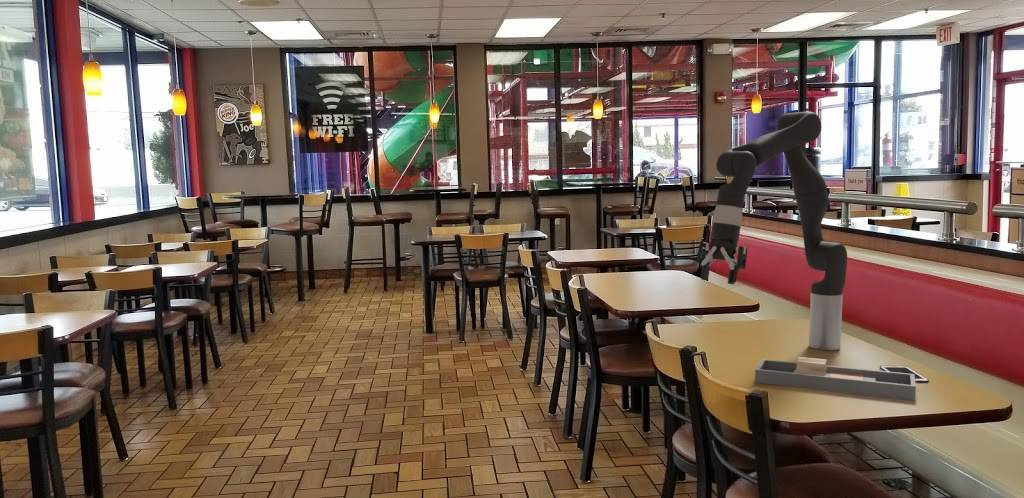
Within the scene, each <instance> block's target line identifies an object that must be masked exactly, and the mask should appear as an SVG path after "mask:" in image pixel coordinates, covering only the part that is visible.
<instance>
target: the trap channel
mask: <svg viewBox="0 0 1024 498" xmlns="http://www.w3.org/2000/svg"><path fill="white" fill-rule="evenodd" d="M796 369H797V361H796V362H795V361H788V360H787V361H785V360H775V359H765V358H761V359H760V362H759V363H758V365H757V366H756V367H755V371H754V373H755V374H754V383H756V384H764V383H765V384H766V385H773V384H775V385H774V386H782V385H785V386H786V387H791V386H792V387H793V388H801V389H802V388H803V389H808V390H809V389H810V390H819V391H820V390H821V391H829V392H835V393H836V392H838V393H846V394H852V395H853V394H855V395H863V396H864V395H865V396H872V397H881V398H891V399H899V400H900V399H901V400H908V401H916V389H917V386H916V382H915V375H914V374H908V373H898V372H888V371H883V370H877V369H869V368H868V369H866V368H857V367H849V366H848V367H846V366H838V365H837V366H835V365H827V364H826V376H820V375H811V374H801V373H796ZM765 384H764V385H765ZM785 386H784V387H785ZM792 387H791V388H792Z"/></svg>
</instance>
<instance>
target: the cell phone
mask: <svg viewBox="0 0 1024 498" xmlns="http://www.w3.org/2000/svg"><path fill="white" fill-rule="evenodd" d="M879 370H880V371H888V372H898V373H908V374H914V375H915V383H917V384H920V383H922V384H923V383H924V384H928V383H927V382H929V383H930V380H929V379H928V378H926V376H923V375H922V374H920V373H919V372H917V371H915V370H914V369H912V368H910V367H909V366H907V365H880V366H879Z"/></svg>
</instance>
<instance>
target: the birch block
mask: <svg viewBox="0 0 1024 498" xmlns="http://www.w3.org/2000/svg"><path fill="white" fill-rule="evenodd" d="M827 360H828V359H827V358H826V359H824V358H815V357H805V356H798V357H797V360H796V362H797V369H796V373H801V374H811V375H820V376H826V365H827Z"/></svg>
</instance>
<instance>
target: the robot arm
mask: <svg viewBox="0 0 1024 498" xmlns="http://www.w3.org/2000/svg"><path fill="white" fill-rule="evenodd" d="M821 132H822V120H821V118H820V117H819V115H818V114H817V113H816V112H813V111H798V112H789V113H788V112H787V113H784V114H783V113H782V115H780V117H779V118H778V121H777V129H776V131H772V132H769V133H766V134H763V135H761V136H759V137H757V138H754V139H753V140H751V141H749V142H747V143H746V144H743V145H739V146H736V147H735V146H734V147H733V148H729V149H726V150H725V151H723V152H722V153H721V154H719V156H718V158H717V160H716V164H715V165H716V166H715V168H716V170H717V172H718V173H719V174H720V175H721V176H724V177H729V178H732V180H731V182H729V183H725V184H722V185H721V186H719V189H718V193H717V197H716V198H717V199H716V206H715V209H714V212H713V216H712V217H713V218H712V222H711V223H712V224H711V229H710V241H709V243H708V242H705V241H700V242H699V246H698V249H697V250H698V251H697V254H696V255H697V256H696V260H695V262H696V263H697V264H700V265H701V270H700V278H701V280H702V281H708V280H709V276H710V270H711V267H710V266H711V265H712V264H713V263H714V262H715V261H725V262H726V263H727V265H728V266H729V272H728V278H727V284H728V285H735V283H736V282H737V278H738V273H739V271H740V270H745V269H746V267H747V258H748V247H746V246H743V245H740V246H738V242H739V239H740V235H741V227H742V220H743V208H744V202H745V197H746V196H745V195H746V193H747V191H748V188H749V186H750V184H751V181H752V180H753V177H754V175H755V172H756V169H757V167H759V166H761V165H762V164H765V163H766V162H768V161H770V160H772V159H773V158H775V157H777V156H778V155H780V154H782V153H783V154H784V157H785V160H786V163H787V166H788V167H787V168H788V170H789V171H788V172H789V175H790V179H791V183H792V189H793V193H794V198H795V203H796V206H797V210H798V214H799V219H800V223H801V224H800V225H801V229H802V230H801V231H802V237H803V246H804V255H805V260H806V263H807V265H808V266H809V268H811V269H812V270H814V271H815V270H816V271H820V272H824V275H823V276H824V277H823V279H821V280H819V281H814V282H812V283H811V285H810V303H809V305H810V307H809V332H808V347H810V348H811V349H815V350H821V351H836V350H840V349H841V345H842V343H841V342H842V341H841V338H842V319H843V318H842V317H843V316H842V315H843V314H842V313H843V291H844V287H845V284H846V280H847V279H846V277H847V267H848V252H847V251H848V250H847V249H846V246H845V245H844V244H842V243H840V242H835V241H825V240H824V238H823V234H822V233H823V232H822V222H823V219H824V217H825V215H826V212H827V210H828V208H829V204H830V202H829V201H830V200H829V199H830V198H829V193H828V189H827V184H826V181H825V178H824V177H823V176H822V174H821V173H820V172H819V171H818V169H817V168H816V167H815V166H814V165H813V164H812V163H811V161H810V160H809V159H808V157H807V156H806V155H805V153H804V149H803V147H802V146H803V145H804V144H805V145H806V144H809V143H813V142H814V141H817V139H818V138H819V137H820V134H821ZM708 251H709V252H708ZM735 254H737V258H736V256H735Z"/></svg>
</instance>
